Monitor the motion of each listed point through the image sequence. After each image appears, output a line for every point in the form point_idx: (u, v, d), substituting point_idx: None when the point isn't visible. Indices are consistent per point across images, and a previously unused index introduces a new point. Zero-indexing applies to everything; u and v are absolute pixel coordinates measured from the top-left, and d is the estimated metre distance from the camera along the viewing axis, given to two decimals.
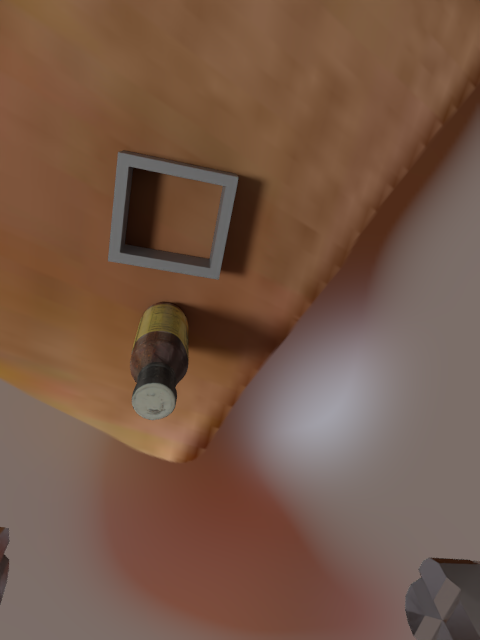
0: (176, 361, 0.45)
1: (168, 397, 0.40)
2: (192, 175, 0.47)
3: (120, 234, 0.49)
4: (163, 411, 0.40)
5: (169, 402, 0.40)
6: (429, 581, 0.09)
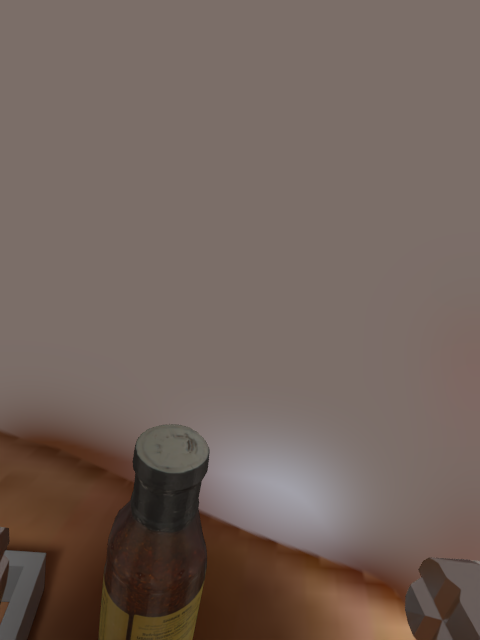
0: None
1: (162, 430, 0.25)
2: None
3: None
4: (189, 435, 0.25)
5: (171, 429, 0.25)
6: (429, 581, 0.09)
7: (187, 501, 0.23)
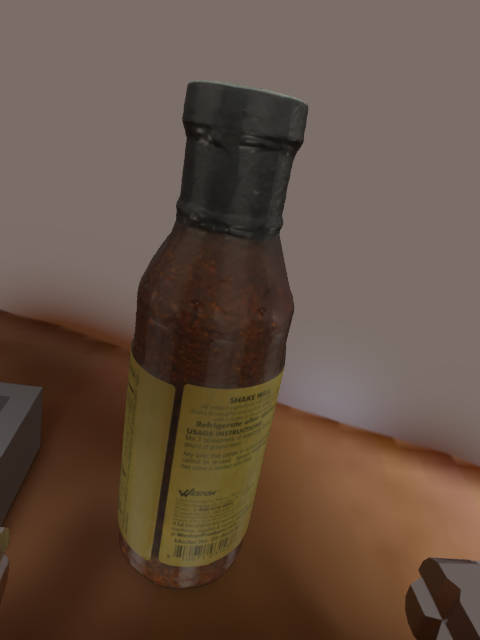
0: None
1: None
2: None
3: None
4: None
5: None
6: (429, 581, 0.09)
7: (275, 178, 0.14)
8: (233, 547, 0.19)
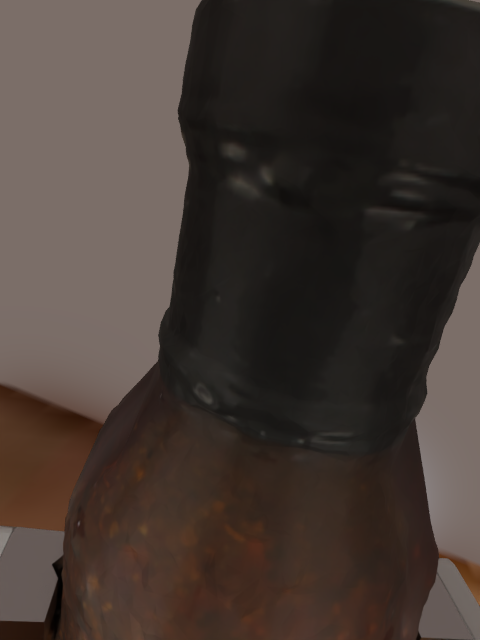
0: None
1: None
2: None
3: None
4: None
5: None
6: None
7: (447, 295, 0.05)
8: None
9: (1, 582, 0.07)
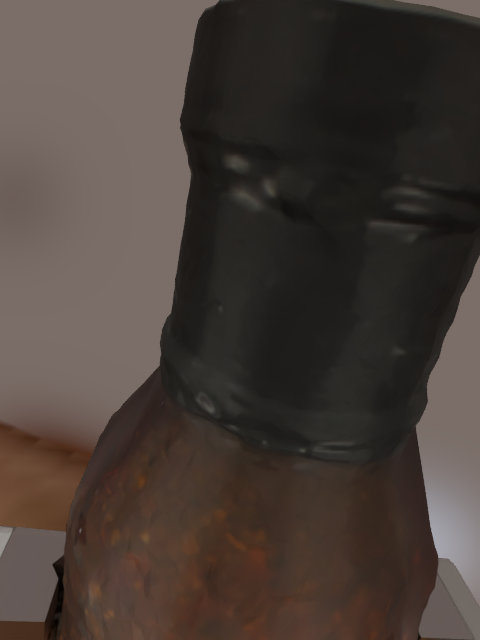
0: None
1: None
2: None
3: None
4: None
5: None
6: None
7: (450, 305, 0.05)
8: None
9: (1, 582, 0.07)
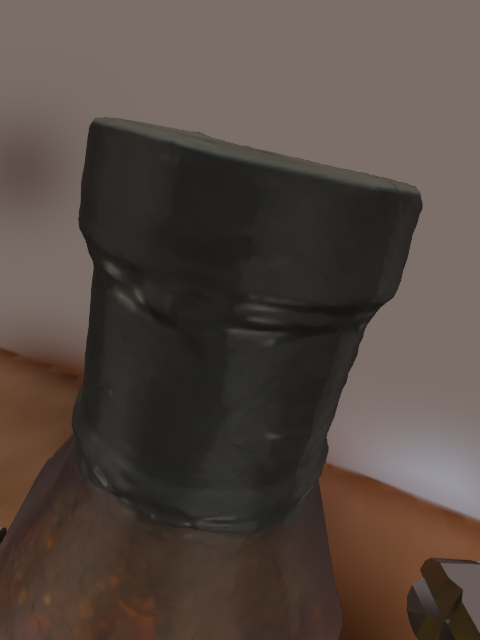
0: None
1: None
2: None
3: None
4: None
5: None
6: (431, 581, 0.09)
7: (324, 391, 0.05)
8: None
9: None
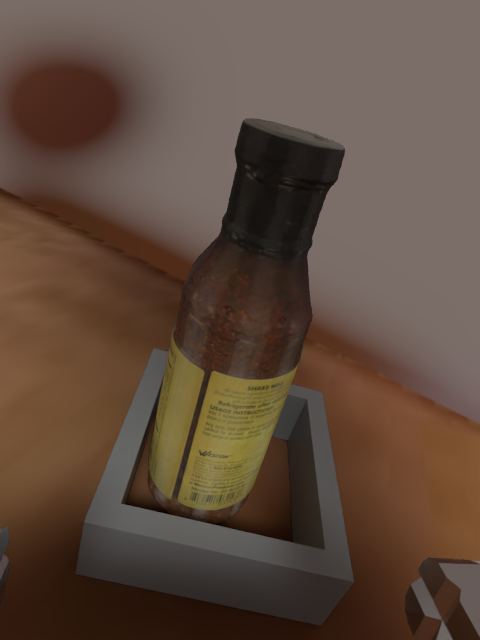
0: None
1: (276, 123, 0.17)
2: (147, 399, 0.25)
3: (281, 542, 0.20)
4: (314, 134, 0.17)
5: (288, 127, 0.18)
6: (429, 581, 0.09)
7: (307, 211, 0.16)
8: (239, 500, 0.23)
9: None
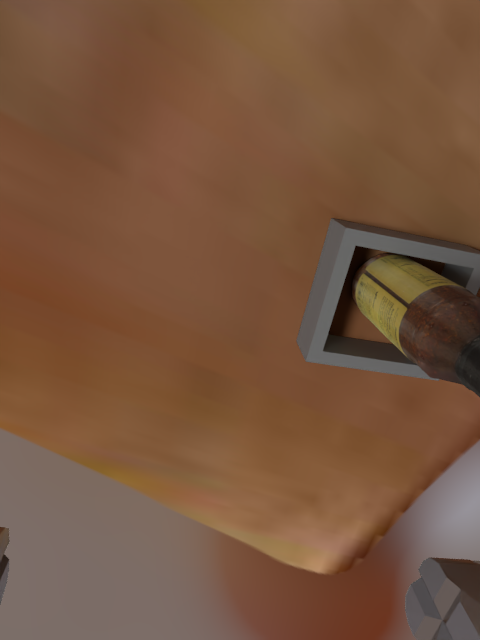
0: None
1: None
2: (434, 255, 0.35)
3: (328, 329, 0.37)
4: None
5: None
6: (429, 581, 0.09)
7: (476, 390, 0.24)
8: None
9: None
